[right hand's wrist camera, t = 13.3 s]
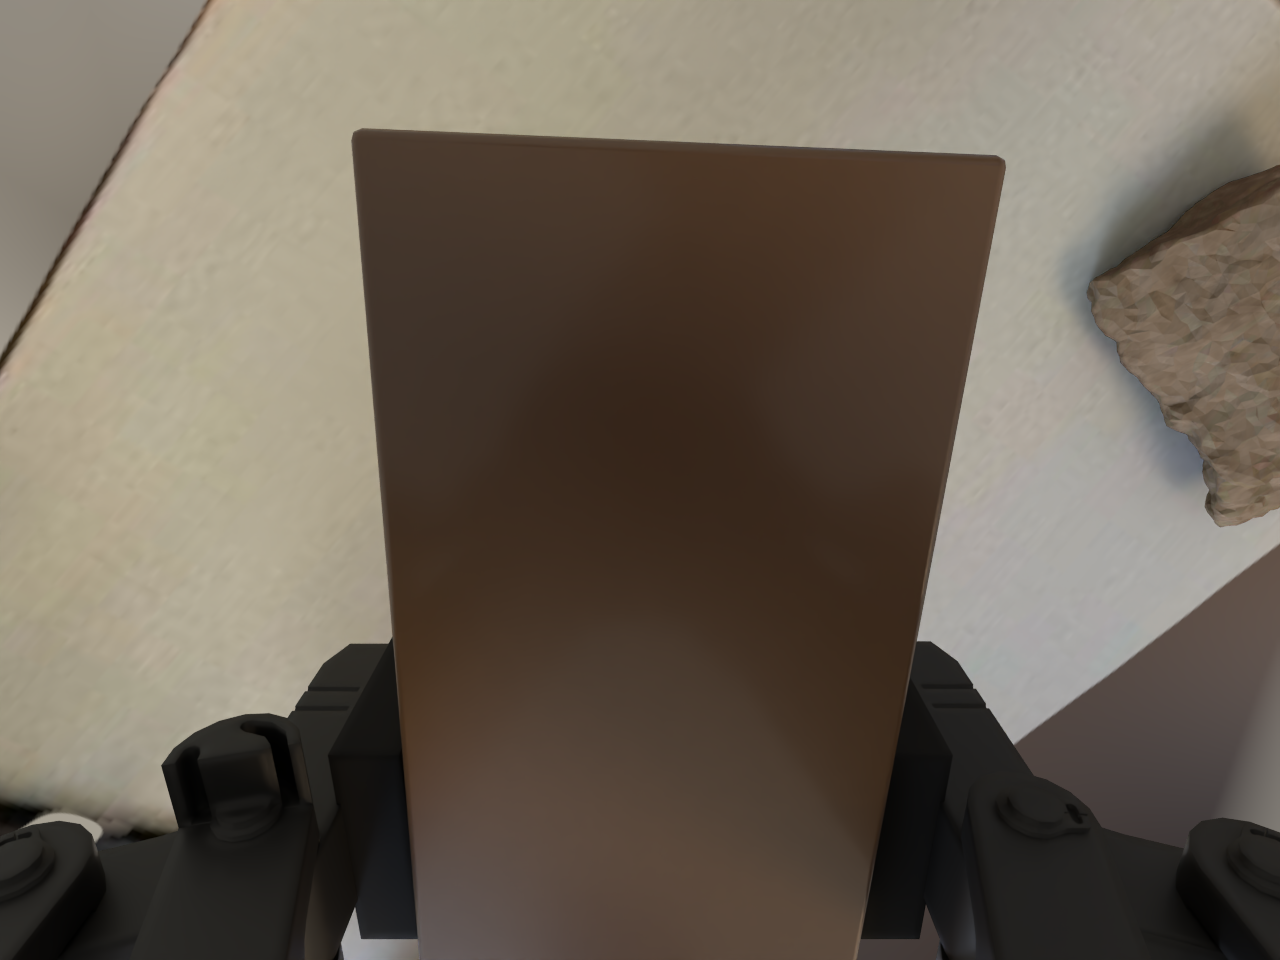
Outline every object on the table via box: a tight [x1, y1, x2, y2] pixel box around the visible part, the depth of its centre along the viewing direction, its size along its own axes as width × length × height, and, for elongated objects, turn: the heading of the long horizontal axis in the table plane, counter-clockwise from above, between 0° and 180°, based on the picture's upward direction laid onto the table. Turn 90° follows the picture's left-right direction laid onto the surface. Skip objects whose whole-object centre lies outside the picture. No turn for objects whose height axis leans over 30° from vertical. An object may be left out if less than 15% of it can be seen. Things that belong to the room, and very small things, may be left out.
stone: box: [1087, 165, 1280, 527], centre depth 49 cm, size 21×15×6 cm
